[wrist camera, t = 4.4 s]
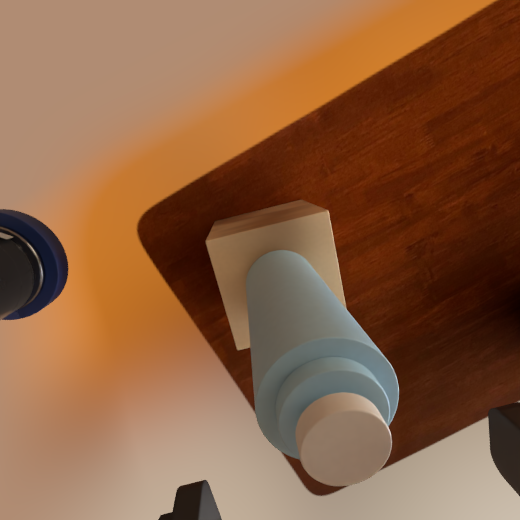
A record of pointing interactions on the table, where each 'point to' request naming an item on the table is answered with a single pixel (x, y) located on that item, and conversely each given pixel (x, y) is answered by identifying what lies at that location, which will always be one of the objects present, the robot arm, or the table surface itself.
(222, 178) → the table surface
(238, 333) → the cube
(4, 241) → the robot arm
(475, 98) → the table surface
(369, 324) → the table surface
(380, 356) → the bottle
